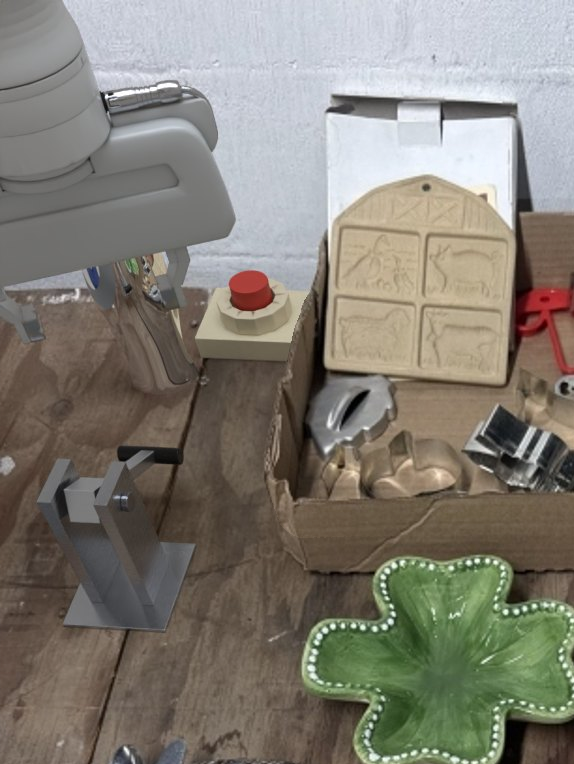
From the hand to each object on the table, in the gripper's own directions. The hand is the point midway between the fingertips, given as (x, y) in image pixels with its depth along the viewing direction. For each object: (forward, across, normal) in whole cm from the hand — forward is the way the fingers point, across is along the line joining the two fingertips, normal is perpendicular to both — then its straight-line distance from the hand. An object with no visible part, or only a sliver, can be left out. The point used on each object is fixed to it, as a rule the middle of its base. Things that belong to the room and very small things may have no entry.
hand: (105, 320), depth 72 cm
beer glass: (+20, -2, -20) cm, 28 cm away
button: (+16, -12, -23) cm, 31 cm away
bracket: (+20, +5, +5) cm, 21 cm away
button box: (+20, -12, -23) cm, 33 cm away
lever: (+13, +3, +2) cm, 14 cm away
